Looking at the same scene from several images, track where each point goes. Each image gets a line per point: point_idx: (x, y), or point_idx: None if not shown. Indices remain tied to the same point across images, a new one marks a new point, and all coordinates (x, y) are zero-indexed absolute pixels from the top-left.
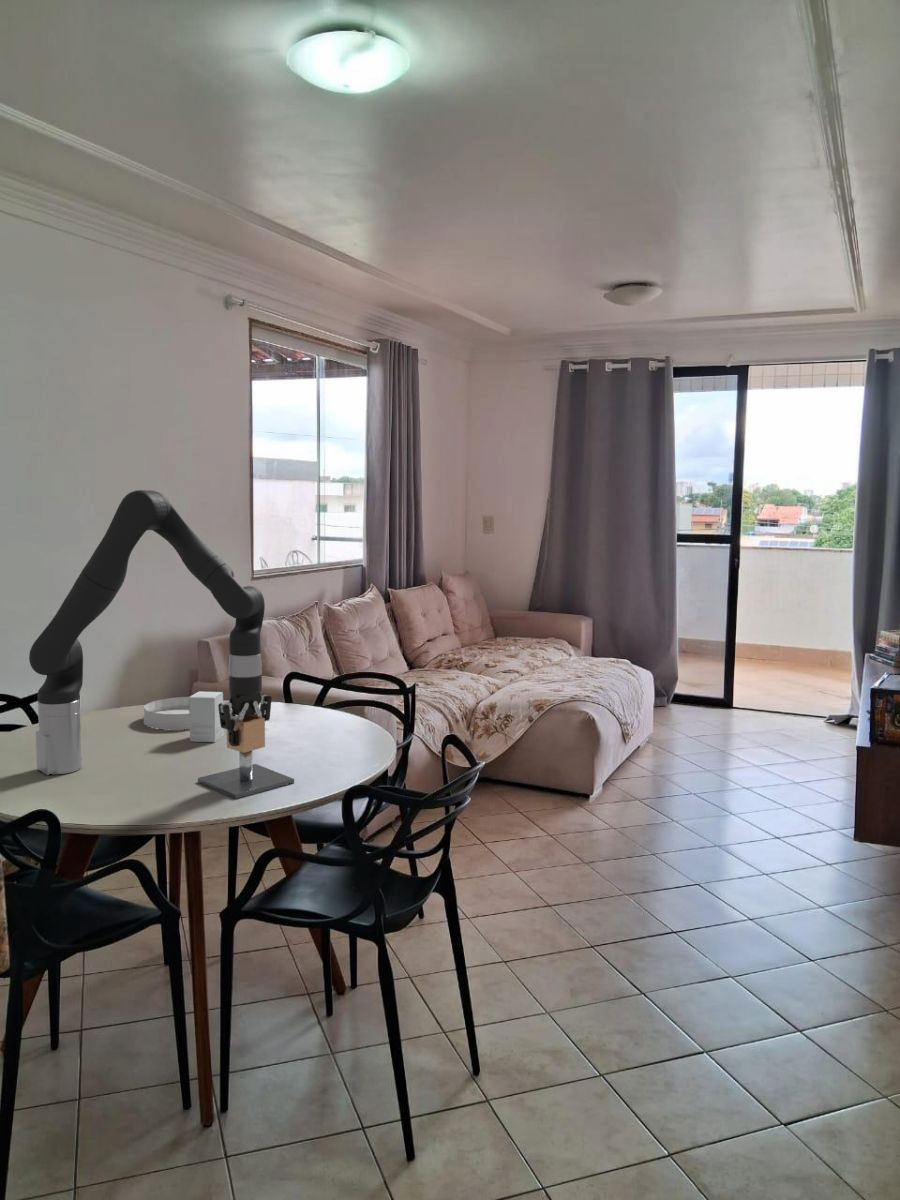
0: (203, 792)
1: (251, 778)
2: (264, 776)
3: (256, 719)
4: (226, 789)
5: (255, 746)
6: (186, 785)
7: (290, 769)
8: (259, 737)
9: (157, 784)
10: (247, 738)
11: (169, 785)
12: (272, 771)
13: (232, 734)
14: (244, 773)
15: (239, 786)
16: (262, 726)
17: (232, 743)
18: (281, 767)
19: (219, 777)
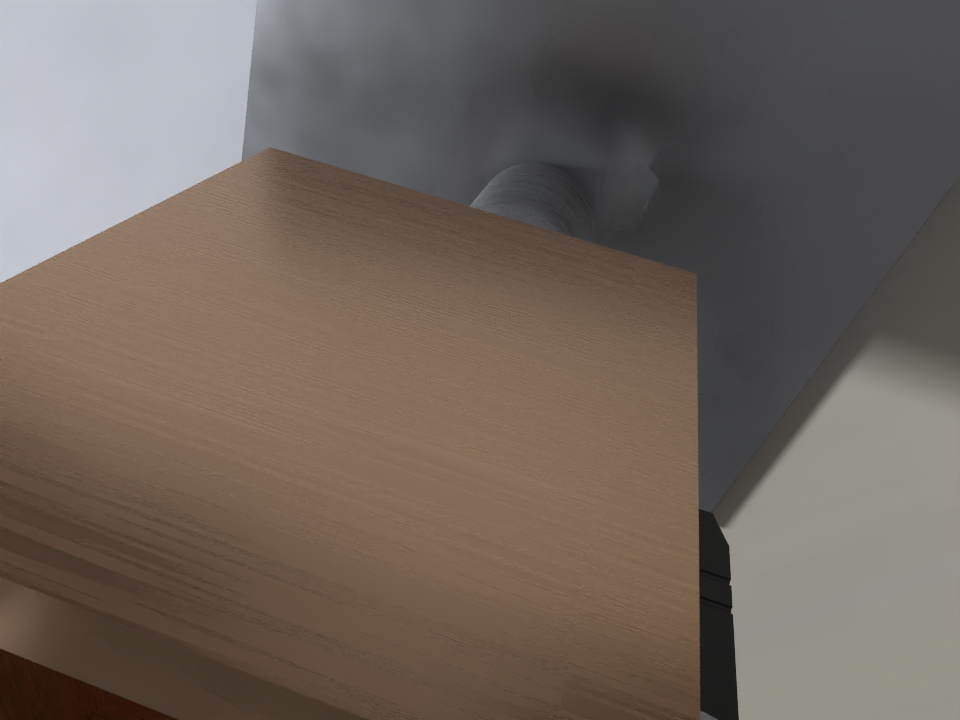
0: (912, 387)
1: (530, 164)
2: (406, 96)
3: (5, 609)
4: (910, 204)
5: (437, 221)
6: (782, 553)
7: (86, 65)
8: (282, 249)
9: (823, 691)
10: (585, 373)
11: (819, 634)
12: (262, 118)
13: (729, 683)
14: (580, 226)
15: (778, 137)
16: (30, 330)
17: (719, 535)
18: (109, 167)
19: None
